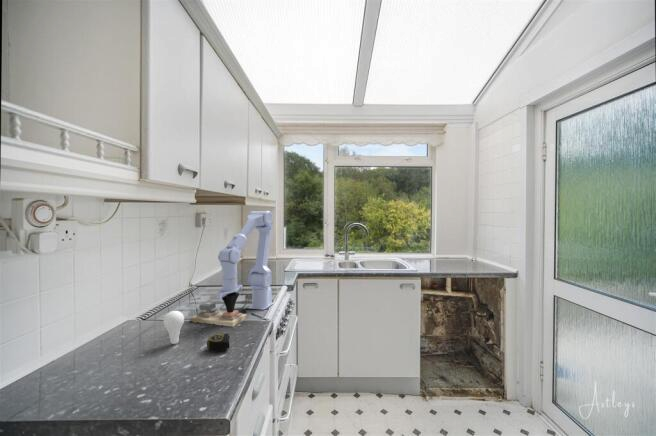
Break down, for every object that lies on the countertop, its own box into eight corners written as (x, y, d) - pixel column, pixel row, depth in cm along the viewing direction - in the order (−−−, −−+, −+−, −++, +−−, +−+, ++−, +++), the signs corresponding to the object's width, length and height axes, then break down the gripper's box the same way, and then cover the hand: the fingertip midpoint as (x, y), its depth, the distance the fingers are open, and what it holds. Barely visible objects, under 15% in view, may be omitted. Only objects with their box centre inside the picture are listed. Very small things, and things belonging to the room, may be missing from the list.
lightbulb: (179, 348, 97) (178, 314, 97) (160, 348, 97) (159, 314, 97) (188, 339, 103) (187, 308, 103) (170, 339, 103) (169, 308, 103)
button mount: (207, 313, 130) (206, 307, 130) (247, 317, 124) (247, 311, 124) (190, 321, 120) (189, 315, 120) (232, 326, 114) (232, 320, 114)
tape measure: (229, 352, 94) (229, 340, 94) (206, 355, 92) (206, 343, 92) (229, 343, 101) (229, 331, 101) (208, 346, 99) (207, 334, 98)
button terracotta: (229, 314, 123) (229, 309, 123) (238, 315, 122) (238, 310, 122) (222, 318, 119) (222, 312, 119) (232, 319, 118) (231, 313, 118)
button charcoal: (206, 306, 126) (206, 301, 126) (215, 307, 125) (215, 302, 125) (199, 309, 122) (199, 304, 122) (208, 310, 121) (208, 305, 121)
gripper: (232, 273, 128) (232, 305, 128) (209, 281, 114) (209, 316, 115) (246, 274, 126) (247, 306, 126) (224, 282, 112) (225, 318, 113)
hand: (230, 311), depth 120 cm, fingers closed, pressing on button terracotta
